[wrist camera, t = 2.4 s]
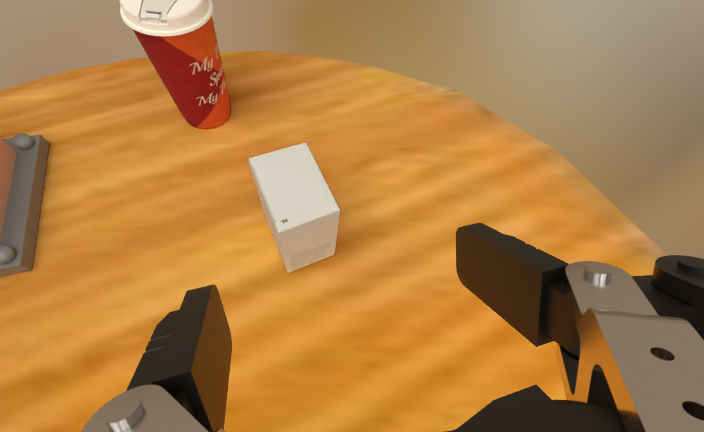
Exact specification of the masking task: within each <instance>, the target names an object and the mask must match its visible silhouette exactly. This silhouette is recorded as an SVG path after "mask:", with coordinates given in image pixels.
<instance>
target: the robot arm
mask: <svg viewBox="0 0 704 432" xmlns="http://www.w3.org/2000/svg"><path fill="white" fill-rule="evenodd" d="M456 268H457V274H458V277H459V279H460V281H461V282H462V284H463V285H464V286H465V287H466V288H468V289H469V290H470V291H471V292H472V293H473V294H475V295H476V296H477V297H478V298H479V299H481V300H482V301H483V302H484V303H485V304H486V305H488V306H489V307H490V308H491V309H492V310H494V311H495V312H496V313H497V314H498V315H499V316H501V317H502V318H503V319H504V320H505V321H507V322H508V323H509V324H510V325H511V326H512V327H514V328H515V329H516V330H517V331H518V332H519V333H521V334H522V335H523V336H524V337H525V338H527V339H528V340H529V341H530V342H531V343H532V344H534V345H535V346H536V347H537V346H540V345H543V344H546V343H549V342H552V341H555V342H556V343H557V350H556V355H557V360H558V364H559V368H560V373H561V377H562V381H563V385H564V390H565V394H566V398H567V400H551V399H550V398H549V397H548V396H547V395H546V394H545V393H544V392H543V391H542V390H541V389H540V388H539V387H538V386H537V385H534V386H531V387H528V388H526V389H523V390H520V391H517V392H515V393H512V394H509V395H507V396H504V397H501V398H498V399H496V400H493V401H492V402H491V403H490V404H488V405H487V406H486V407H484V408H483V409H482V410H481V411H479V412H478V413H477V414H476V415H474V416H473V417H472V418H470V419H469V420H468V421H467V422H465V423H464V424H463V425H461V426H460V427H459V428H457V429H455V430H453V431H446V432H704V259H701V258H696V257H690V256H679V255H671V256H663V257H660V258H658V259H657V260H656V262H655V267H654V271H653V275H648V276H630V275H629V274H628V273H627V272H626V271H624V270H622V269H620V268H618V267H615V266H612V265H609V264H605V263H600V262H591V261H581V262H575V263H572V264H568V263H566V262H564V261H562V260H560V259H558V258H556V257H554V256H552V255H550V254H547V253H545V252H543V251H541V250H539V249H536V248H535V247H533V246H531V245H529V244H526V243H525V242H523V241H521V240H519V239H517V238H515V237H513V236H509V235H505V234H502V233H500V232H498V231H496V230H494V229H492V228H490V227H488V226H486V225H484V224H482V223H476V224H471V225H467V226H463V227H459V228H458V229H457V232H456ZM145 351H146V353H144V354H143V356H142V358H141V360H140V362H139V365H138V367H137V369H136V371H135V373H134V375H133V377H132V380H131V382H130V384H129V386H128V388H127V390H126V392H124V393H122V394H120V395H118V396H116V397H115V398H113V399H112V400H110V401H109V402H107V403H106V404H105V405H104V406H102V407H101V408H100V409H99V410H98V411H97V412H96V413H95V414H94V415H93V416H92V417H91V418H90V419H89V421H88V422H87V424H86V425H85V426H84V428H83V430H82V432H226V431H225V430H223V429H224V420H225V410H226V400H227V391H228V381H229V372H230V362H231V353H232V340H231V333H230V329H229V325H228V322H227V318H226V315H225V312H224V309H223V305H222V302H221V299H220V295H219V292H218V289H217V287H216V286H215V285H210V286H205V287H201V288H197V289H192V290H188V291H187V292H186V294H185V297H184V300H183V302H182V305H181V307H180V310H177V311H173V312H170V313H169V314H168V315H167V316H166V317H165V318H164V319H163V320H162V321H161V322H160V323H159V324H158V325H157V326H156V328H155V330H154V332H153V334H152V337H151V341H149V343H148V345H147V347H146V349H145Z"/></svg>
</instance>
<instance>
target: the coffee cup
mask: <svg viewBox="0 0 704 432" xmlns="http://www.w3.org/2000/svg"><path fill="white" fill-rule="evenodd" d="M120 4H121V8H120V13H121V17H122V19H123V21H124V22H125V23H126V24H127V25H128V26H129V27H131V28H132V29H133V31H134V32H135V34H136V36H137V37H138V39H139V41H140V43H141V45H142V46H143V48H144V50H145V51H146V53H147V55H148V57H149V58H150V60H151V62H152V64H153V65H154V67H155V69H156V71H157V72H158V74H159V76H160V78H161V79H162V81H163V83H164V84H165V86H166V88H167V90H168V91H169V93H170V95H171V97H172V98H173V100H174V102H175V103H176V105H177V107H178V108H179V110H180V112H181V113H182V115H183V117H184V118H185V120H186V121H187V122H188V123H189V124H190V125H192V126H193V127H196V128H199V129H212V128H216V127H218V126H220V125H222V124H224V123H225V122H226V121H227V120H228V119H229V117H230V114H231V107H230V101H229V95H228V90H227V86H226V81H225V76H224V71H223V67H222V62H221V57H220V53H219V48H218V43H217V39H216V34H215V30H214V25H213V20H212V13H213V4H212V1H211V0H120Z"/></svg>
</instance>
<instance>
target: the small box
mask: <svg viewBox="0 0 704 432" xmlns="http://www.w3.org/2000/svg"><path fill="white" fill-rule="evenodd" d="M248 161H249V165H250V168H251V171H252V175H253V178H254V181H255V185H256V188H257V191H258V195H259V198H260V202H261V205H262V208H263V212H264V214H265V217H266V219H267V222H268V224H269V227H270V229H271V232H272V235H273V237H274V240H275V242H276V245H277V247H278V250H279V253H280V255H281V258H282V260H283V263H284V265H285V268H286V270H287V273H289V272H292V271H294V270H297V269H299V268H302V267H304V266H307V265H309V264H312V263H315V262H317V261H320V260H322V259H325V258H327V257H330V256H332V255H334V254H335V247H336V240H337V232H338V225H339V217H340V208H339V206H338V204H337V202H336V200H335V198H334V196H333V194H332V192H331V190H330V188H329V186H328V184H327V182H326V180H325V178H324V176H323V174H322V172H321V170H320V168H319V166H318V164H317V162H316V160H315V158H314V156H313V154H312V152H311V150H310V148H309V146H308V144H307V143H302V144H298V145H294V146H291V147H287V148H284V149H280V150H277V151H273V152H270V153H266V154H263V155H259V156H255V157H252V158H249V159H248Z"/></svg>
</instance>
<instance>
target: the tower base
mask: <svg viewBox="0 0 704 432" xmlns="http://www.w3.org/2000/svg"><path fill="white" fill-rule="evenodd" d="M49 144H50V143H49V142H48V141H47V140H45V139H44V138H43V137H42V136H41V135H35V136H28V135H27V134H18V135H16V136H14V137H13V138H10V139H1V138H0V276H5V275H10V274H15V273H20V272H25V271H30V270H32V266H33V259H34V252H35V245H36V238H37V230H38V223H39V216H40V209H41V202H42V195H43V187H44V180H45V173H46V166H47V159H48V151H49Z"/></svg>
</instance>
